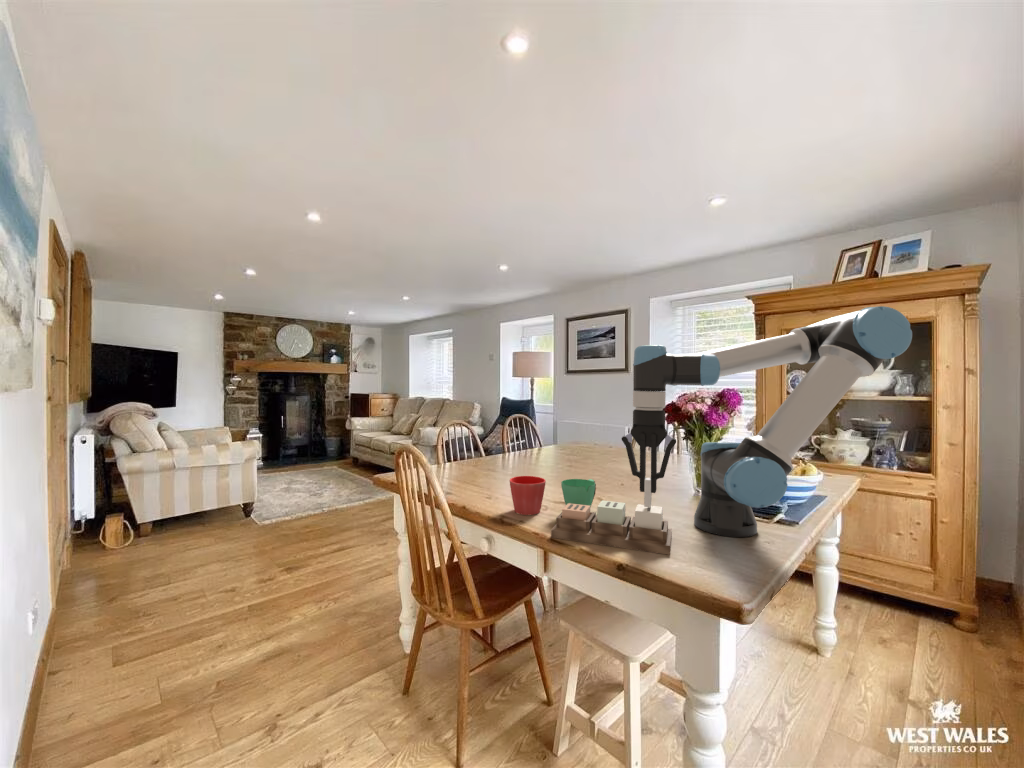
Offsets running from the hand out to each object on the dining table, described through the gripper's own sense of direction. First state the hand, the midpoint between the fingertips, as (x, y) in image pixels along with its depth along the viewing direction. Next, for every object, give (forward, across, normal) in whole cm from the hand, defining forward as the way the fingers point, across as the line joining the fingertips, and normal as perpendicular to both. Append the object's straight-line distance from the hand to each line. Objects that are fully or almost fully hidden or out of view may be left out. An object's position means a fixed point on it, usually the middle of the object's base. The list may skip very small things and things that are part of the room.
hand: (647, 505), depth 103 cm
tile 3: (+7, +18, 0) cm, 19 cm away
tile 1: (+5, 0, 0) cm, 5 cm away
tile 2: (+5, +9, 0) cm, 10 cm away
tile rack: (+9, +9, 0) cm, 13 cm away
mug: (+9, +20, -15) cm, 26 cm away
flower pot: (+10, +36, -12) cm, 39 cm away
